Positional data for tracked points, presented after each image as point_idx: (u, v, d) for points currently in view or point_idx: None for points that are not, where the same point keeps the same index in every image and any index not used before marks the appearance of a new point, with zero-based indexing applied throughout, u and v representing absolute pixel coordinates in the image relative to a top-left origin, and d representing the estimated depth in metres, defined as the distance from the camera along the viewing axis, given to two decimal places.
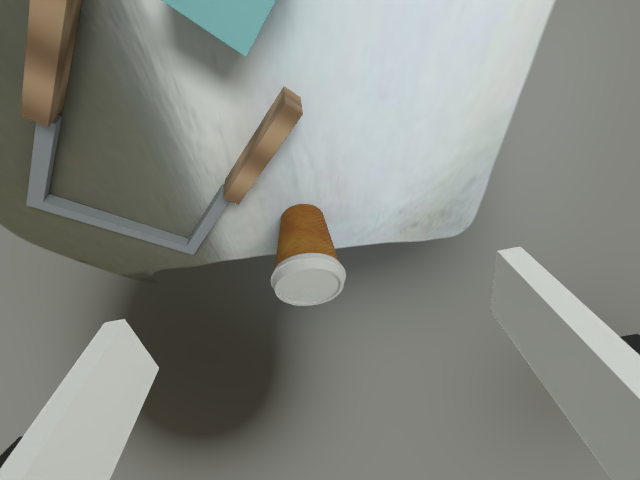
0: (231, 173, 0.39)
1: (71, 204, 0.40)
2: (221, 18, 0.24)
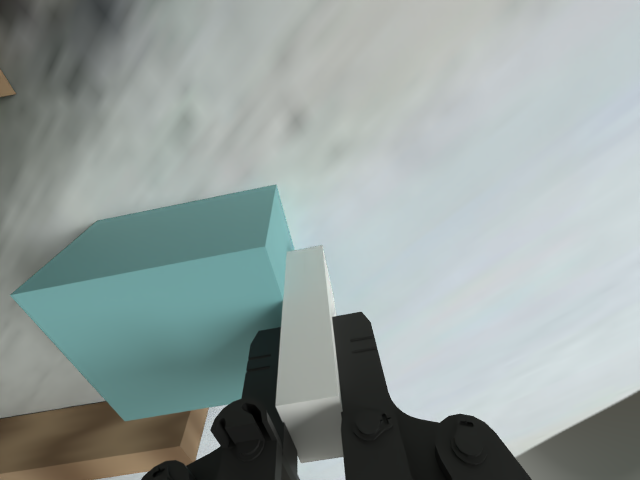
0: (6, 429, 0.20)
1: None
2: (123, 375, 0.12)
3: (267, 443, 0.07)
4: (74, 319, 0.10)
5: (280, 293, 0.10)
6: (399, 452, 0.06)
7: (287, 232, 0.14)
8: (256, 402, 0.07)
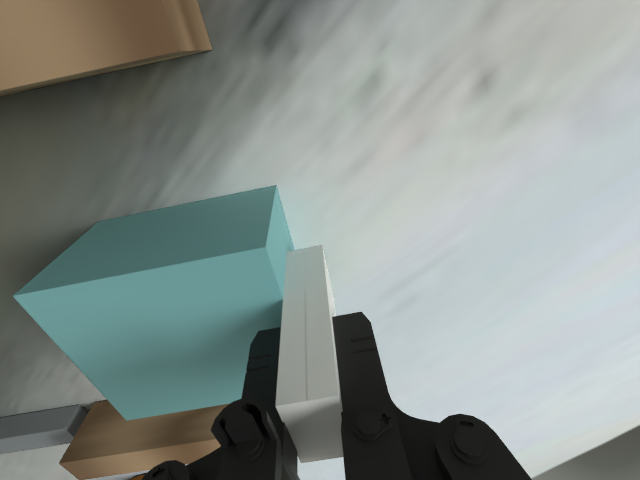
0: (116, 410, 0.20)
1: None
2: (124, 375, 0.12)
3: (267, 443, 0.07)
4: (77, 319, 0.11)
5: (280, 293, 0.10)
6: (399, 452, 0.06)
7: (287, 232, 0.14)
8: (256, 402, 0.07)
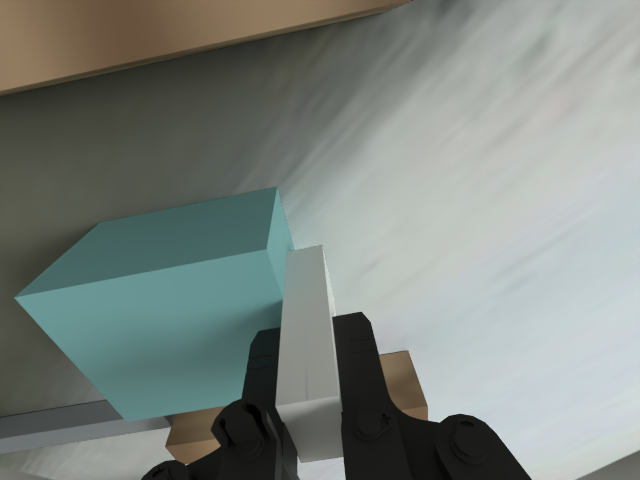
0: None
1: None
2: (125, 376, 0.12)
3: (267, 443, 0.07)
4: (78, 321, 0.11)
5: (281, 295, 0.10)
6: (399, 452, 0.06)
7: (288, 234, 0.14)
8: (256, 402, 0.07)
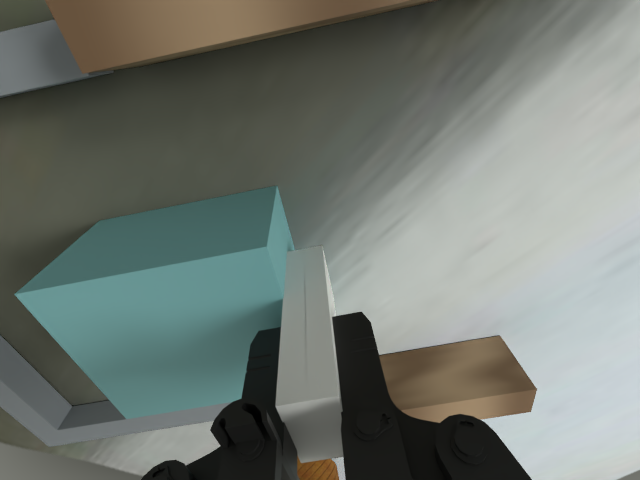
0: None
1: None
2: (125, 373, 0.12)
3: (267, 443, 0.07)
4: (78, 318, 0.11)
5: (281, 293, 0.10)
6: (399, 452, 0.06)
7: (288, 232, 0.14)
8: (256, 402, 0.07)
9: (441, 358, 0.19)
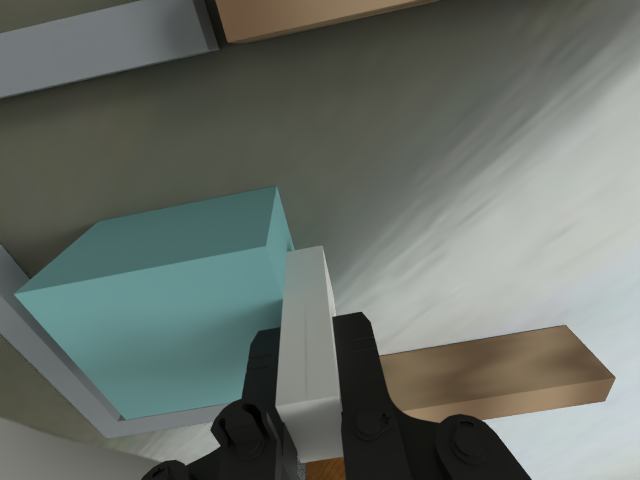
0: None
1: None
2: (124, 374, 0.12)
3: (267, 443, 0.07)
4: (77, 318, 0.11)
5: (281, 292, 0.10)
6: (399, 452, 0.06)
7: (287, 232, 0.14)
8: (256, 402, 0.07)
9: (508, 348, 0.18)
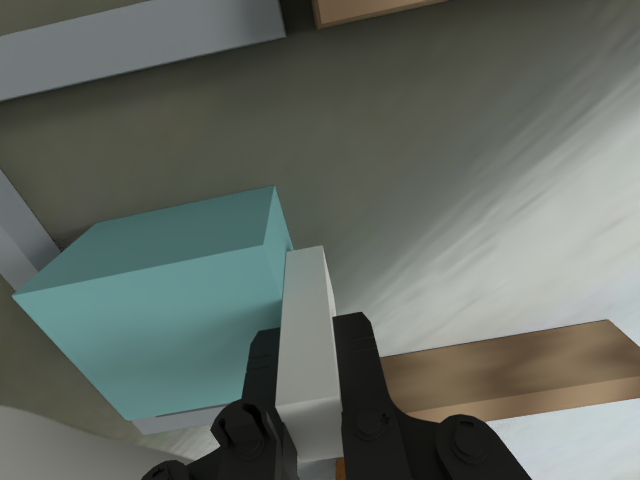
0: (405, 366, 0.19)
1: None
2: (124, 375, 0.12)
3: (267, 443, 0.07)
4: (75, 319, 0.11)
5: (279, 291, 0.10)
6: (399, 452, 0.06)
7: (286, 231, 0.14)
8: (256, 402, 0.07)
9: (552, 342, 0.18)
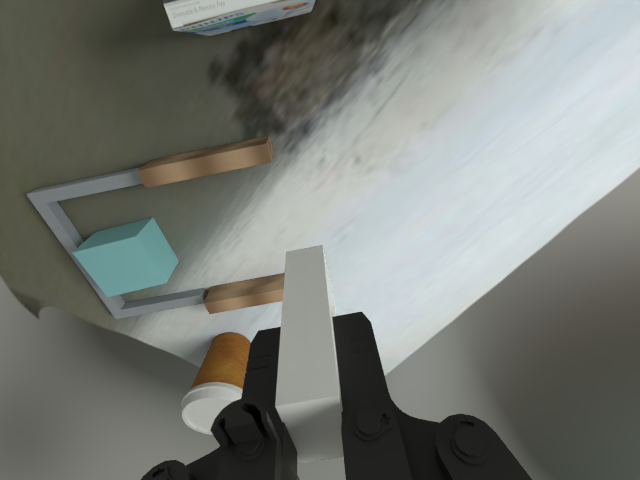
0: (221, 288, 0.46)
1: (64, 218, 0.40)
2: (104, 278, 0.39)
3: (267, 443, 0.07)
4: (89, 259, 0.38)
5: (144, 249, 0.37)
6: (399, 452, 0.06)
7: (159, 232, 0.41)
8: (256, 402, 0.07)
9: (278, 278, 0.45)
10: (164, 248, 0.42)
